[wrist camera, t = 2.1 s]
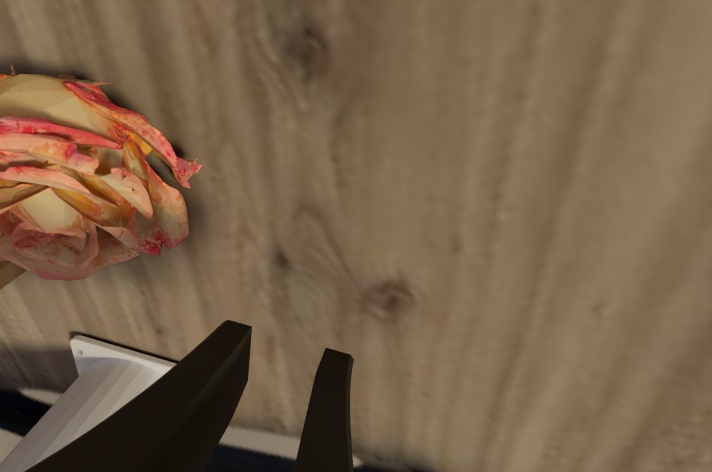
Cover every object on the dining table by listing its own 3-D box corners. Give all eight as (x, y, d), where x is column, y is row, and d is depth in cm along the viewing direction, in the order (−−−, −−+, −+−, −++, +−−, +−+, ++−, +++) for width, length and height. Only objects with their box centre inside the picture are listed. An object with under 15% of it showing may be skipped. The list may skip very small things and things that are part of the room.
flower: (-73, 102, 17) (-141, 281, 14) (-67, -91, 12) (-178, 132, 9) (164, 170, 23) (154, 308, 20) (244, 61, 17) (247, 229, 14)
